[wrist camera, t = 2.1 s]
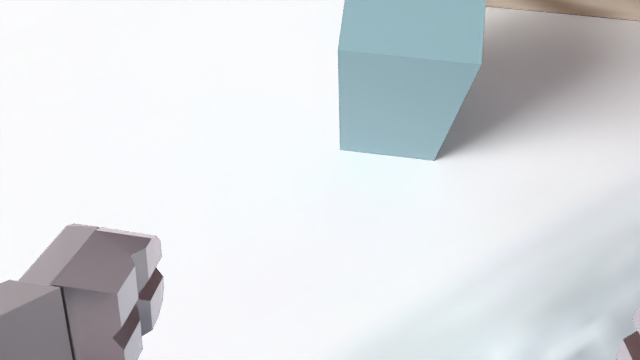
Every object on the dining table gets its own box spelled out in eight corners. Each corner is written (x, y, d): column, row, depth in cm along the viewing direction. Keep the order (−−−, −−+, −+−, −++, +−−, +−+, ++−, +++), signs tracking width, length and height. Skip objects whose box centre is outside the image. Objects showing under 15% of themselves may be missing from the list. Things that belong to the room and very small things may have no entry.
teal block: (441, 74, 32) (489, -59, 21) (434, 160, 31) (481, 64, 20) (351, 65, 32) (354, -70, 22) (340, 149, 31) (337, 49, 20)
